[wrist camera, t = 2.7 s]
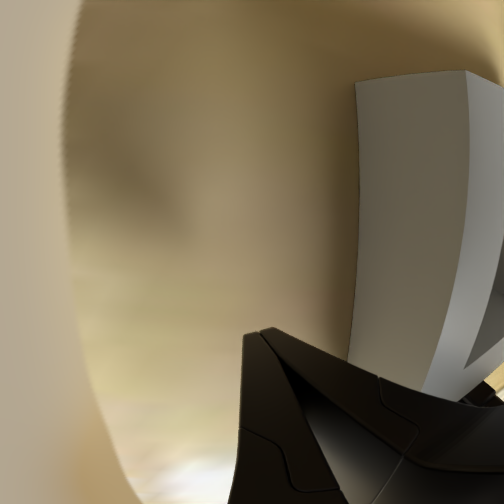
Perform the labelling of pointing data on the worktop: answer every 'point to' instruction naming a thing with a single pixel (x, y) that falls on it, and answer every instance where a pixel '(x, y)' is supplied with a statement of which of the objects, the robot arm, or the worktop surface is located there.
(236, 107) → the worktop surface
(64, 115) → the worktop surface
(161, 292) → the worktop surface
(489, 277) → the socket block
